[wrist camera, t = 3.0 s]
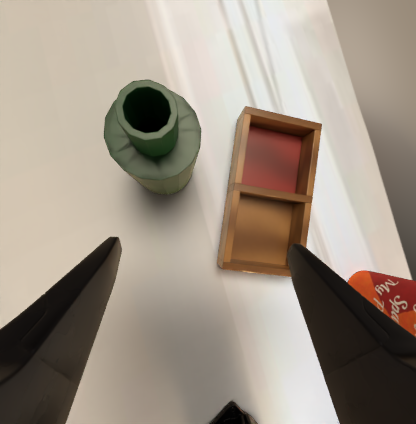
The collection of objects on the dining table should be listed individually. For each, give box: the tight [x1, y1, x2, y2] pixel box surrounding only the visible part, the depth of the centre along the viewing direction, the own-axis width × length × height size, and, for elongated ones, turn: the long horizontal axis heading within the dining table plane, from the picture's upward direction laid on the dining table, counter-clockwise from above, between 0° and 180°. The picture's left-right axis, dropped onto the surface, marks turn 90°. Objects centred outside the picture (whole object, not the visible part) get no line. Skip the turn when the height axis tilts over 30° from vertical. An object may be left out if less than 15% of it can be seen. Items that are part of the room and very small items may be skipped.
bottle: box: [104, 80, 201, 195], centre depth 17 cm, size 6×6×13 cm
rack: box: [217, 106, 322, 277], centre depth 24 cm, size 18×9×3 cm, turn 171°
